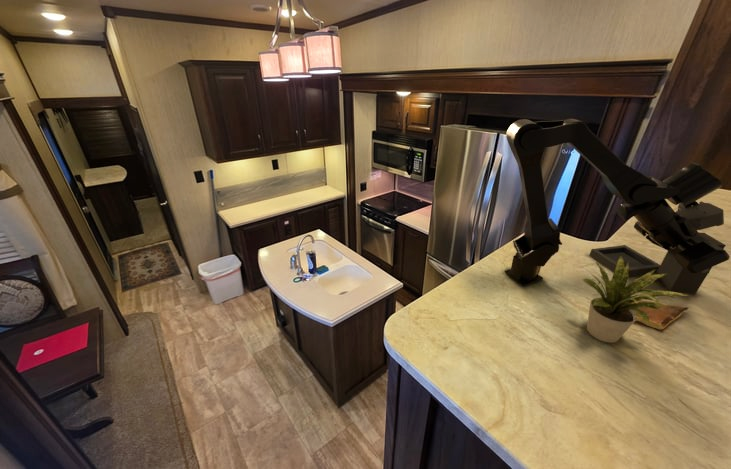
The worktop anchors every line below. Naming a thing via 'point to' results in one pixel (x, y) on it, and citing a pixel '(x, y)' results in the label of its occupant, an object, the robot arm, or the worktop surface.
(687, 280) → the dark banded block
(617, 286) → the house plant
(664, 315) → the shard
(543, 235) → the robot arm
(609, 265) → the base pad
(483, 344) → the worktop surface
